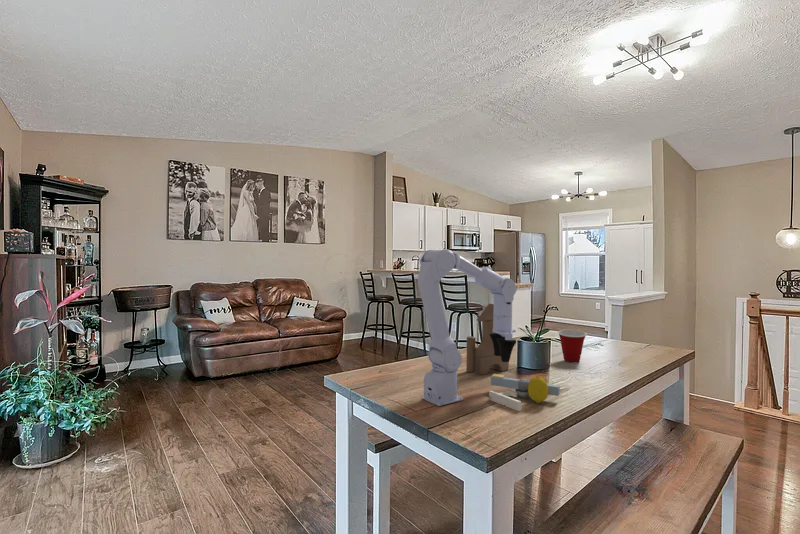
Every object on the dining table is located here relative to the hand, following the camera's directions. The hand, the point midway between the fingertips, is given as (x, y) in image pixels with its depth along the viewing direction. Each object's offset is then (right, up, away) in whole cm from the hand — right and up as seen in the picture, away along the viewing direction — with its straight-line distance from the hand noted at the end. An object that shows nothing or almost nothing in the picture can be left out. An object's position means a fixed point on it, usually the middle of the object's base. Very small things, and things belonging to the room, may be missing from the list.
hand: (502, 358), depth 130 cm
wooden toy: (0, -10, +22) cm, 24 cm away
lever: (+5, -8, -6) cm, 11 cm away
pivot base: (+5, -10, -6) cm, 13 cm away
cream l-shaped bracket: (+1, -10, -11) cm, 15 cm away
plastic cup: (+37, -9, +36) cm, 53 cm away
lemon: (+7, -10, -12) cm, 18 cm away
